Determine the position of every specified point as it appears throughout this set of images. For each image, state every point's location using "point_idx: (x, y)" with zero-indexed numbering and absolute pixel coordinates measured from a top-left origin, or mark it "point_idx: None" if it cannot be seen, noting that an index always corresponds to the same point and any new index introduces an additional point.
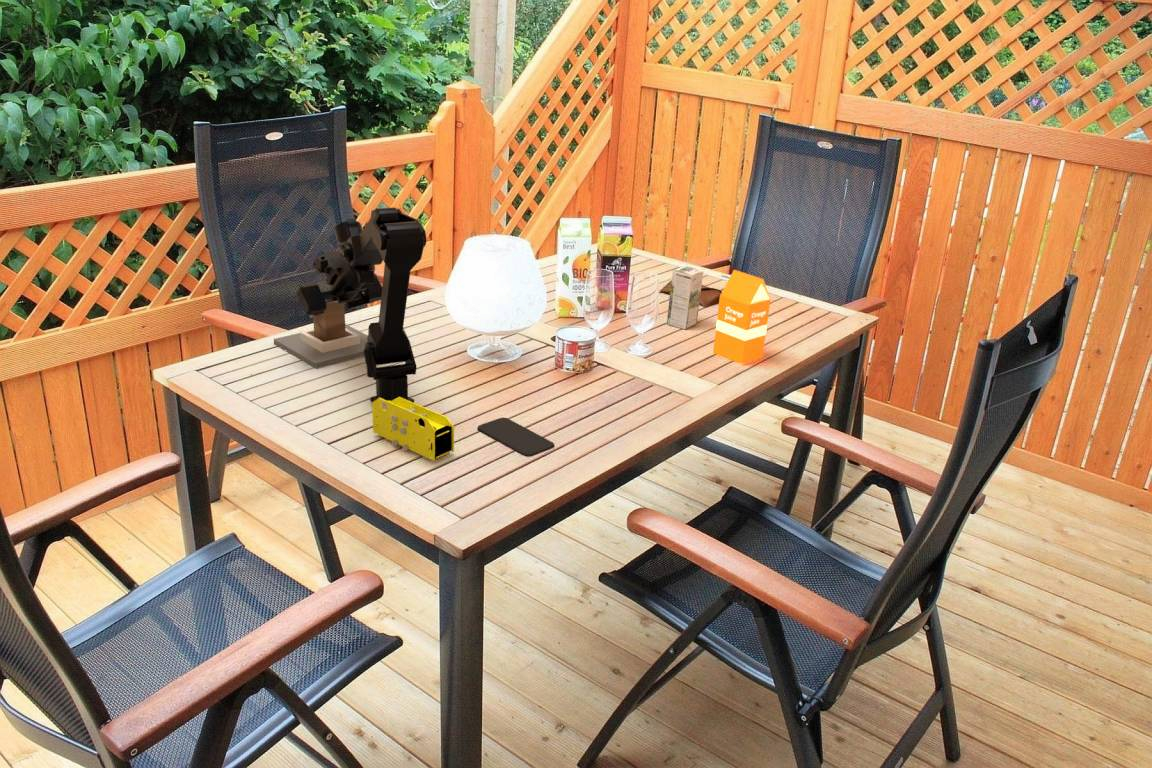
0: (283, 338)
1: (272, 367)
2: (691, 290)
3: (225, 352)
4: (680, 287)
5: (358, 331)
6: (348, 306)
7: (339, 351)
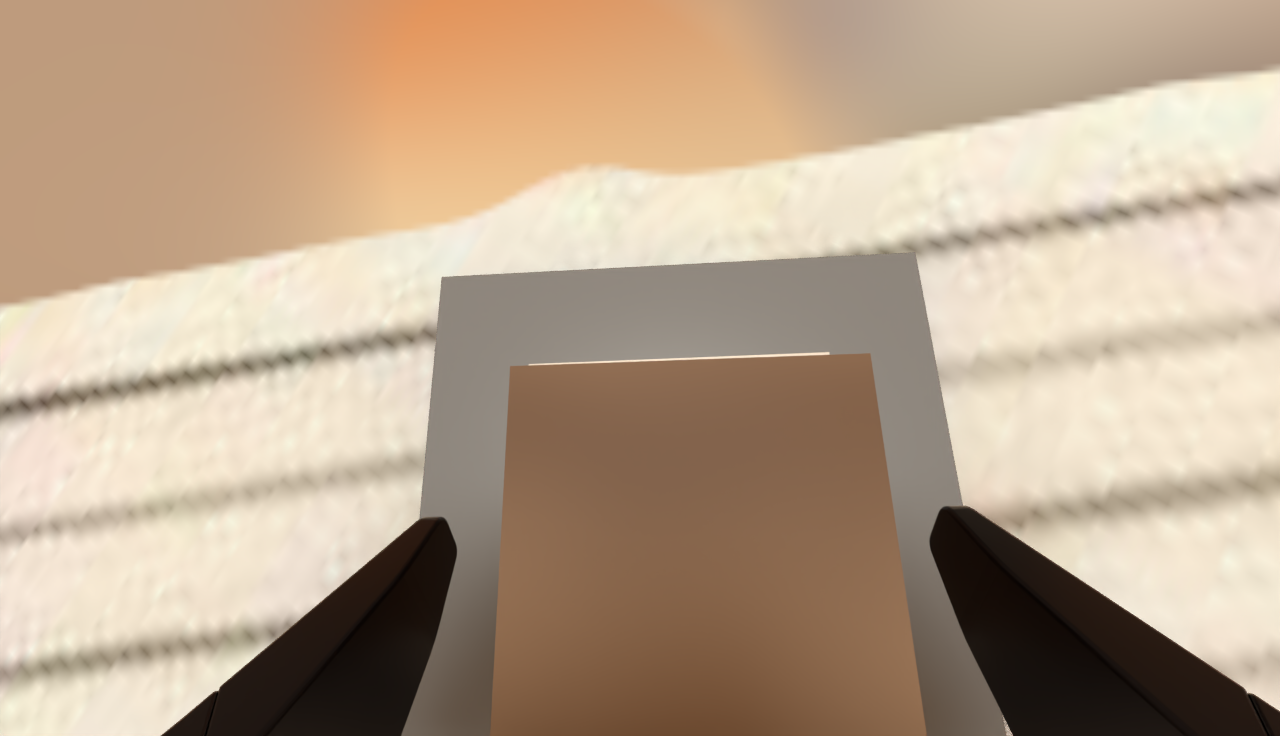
0: (486, 299)
1: (246, 607)
2: None
3: (222, 269)
4: None
5: (941, 439)
6: (969, 606)
7: None
